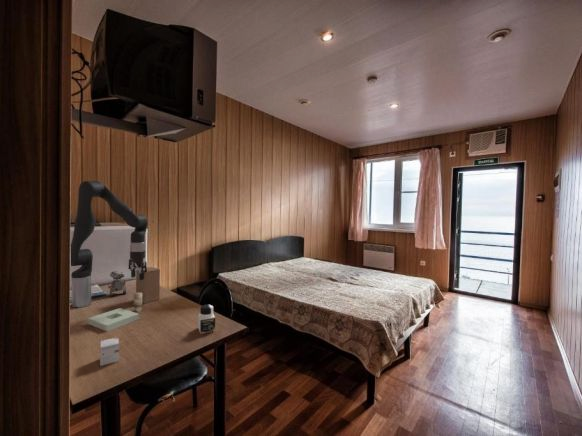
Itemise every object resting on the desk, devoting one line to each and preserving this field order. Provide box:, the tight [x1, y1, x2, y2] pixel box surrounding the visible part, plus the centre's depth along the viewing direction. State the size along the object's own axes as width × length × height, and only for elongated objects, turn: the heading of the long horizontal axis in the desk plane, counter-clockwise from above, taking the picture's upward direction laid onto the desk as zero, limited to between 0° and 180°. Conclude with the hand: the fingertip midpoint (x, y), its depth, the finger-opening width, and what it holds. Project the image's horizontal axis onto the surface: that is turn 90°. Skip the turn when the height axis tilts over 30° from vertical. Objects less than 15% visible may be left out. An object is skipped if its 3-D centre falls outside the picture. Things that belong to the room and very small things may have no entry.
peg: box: [133, 292, 143, 313], centre depth 153 cm, size 4×4×10 cm
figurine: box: [107, 270, 127, 297], centre depth 179 cm, size 9×12×15 cm
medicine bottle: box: [197, 304, 216, 335], centre depth 133 cm, size 7×7×12 cm
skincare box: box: [99, 336, 120, 367], centre depth 105 cm, size 6×6×7 cm
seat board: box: [87, 307, 140, 332], centre depth 138 cm, size 16×16×3 cm
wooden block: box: [135, 266, 161, 305], centre depth 170 cm, size 10×10×20 cm
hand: (137, 278), depth 151 cm, fingers open, 8 cm apart
